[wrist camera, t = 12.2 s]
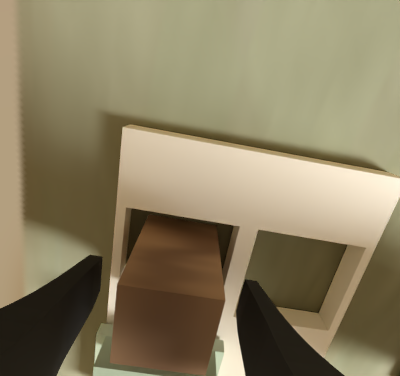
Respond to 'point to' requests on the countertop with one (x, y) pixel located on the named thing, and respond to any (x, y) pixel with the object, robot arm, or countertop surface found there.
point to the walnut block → (169, 298)
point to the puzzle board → (254, 215)
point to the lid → (108, 372)
